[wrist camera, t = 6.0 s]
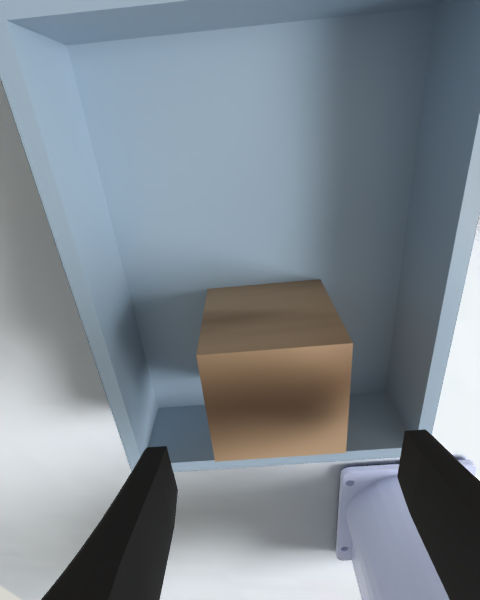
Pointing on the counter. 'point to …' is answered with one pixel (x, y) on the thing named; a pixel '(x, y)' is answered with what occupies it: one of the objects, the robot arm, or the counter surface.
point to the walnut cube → (274, 371)
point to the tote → (254, 187)
